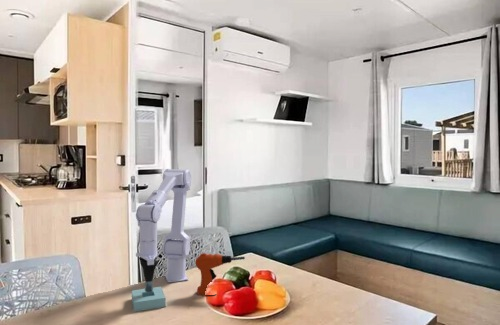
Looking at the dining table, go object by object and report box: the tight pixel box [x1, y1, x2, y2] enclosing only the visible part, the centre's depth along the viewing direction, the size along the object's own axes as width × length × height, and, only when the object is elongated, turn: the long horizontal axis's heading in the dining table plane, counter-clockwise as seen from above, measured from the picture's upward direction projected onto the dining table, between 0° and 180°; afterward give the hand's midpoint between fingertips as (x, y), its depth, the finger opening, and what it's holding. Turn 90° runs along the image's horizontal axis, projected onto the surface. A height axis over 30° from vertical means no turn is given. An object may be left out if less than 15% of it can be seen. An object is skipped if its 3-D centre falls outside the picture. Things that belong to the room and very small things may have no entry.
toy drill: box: [195, 252, 246, 296], centre depth 128 cm, size 5×19×15 cm, turn 85°
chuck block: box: [131, 286, 167, 312], centre depth 120 cm, size 10×10×3 cm
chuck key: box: [144, 279, 154, 292], centre depth 119 cm, size 3×3×10 cm
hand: (148, 279), depth 119 cm, fingers closed on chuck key, 3 cm apart
